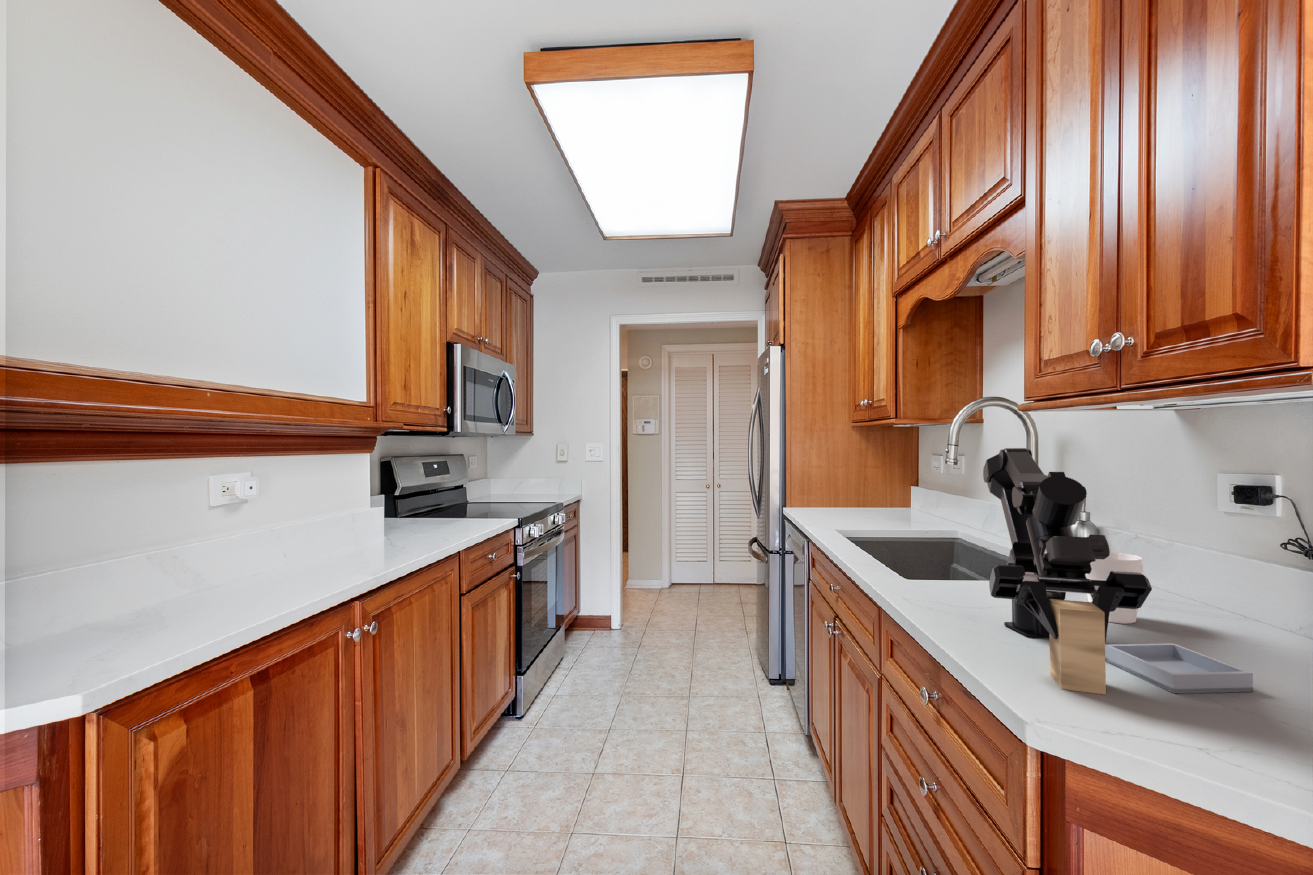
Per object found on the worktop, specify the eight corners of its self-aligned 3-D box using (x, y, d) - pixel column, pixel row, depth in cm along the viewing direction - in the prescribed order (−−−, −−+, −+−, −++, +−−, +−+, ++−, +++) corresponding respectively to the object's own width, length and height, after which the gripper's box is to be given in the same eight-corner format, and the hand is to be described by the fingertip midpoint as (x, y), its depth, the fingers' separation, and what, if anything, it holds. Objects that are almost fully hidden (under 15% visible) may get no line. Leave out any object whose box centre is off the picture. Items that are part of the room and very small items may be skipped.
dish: (1104, 660, 85) (1104, 644, 85) (1173, 659, 85) (1173, 643, 85) (1173, 693, 74) (1173, 674, 74) (1253, 691, 74) (1252, 673, 74)
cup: (1083, 608, 111) (1082, 548, 111) (1143, 616, 105) (1142, 554, 105) (1082, 619, 104) (1081, 556, 104) (1145, 629, 98) (1144, 562, 98)
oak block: (1050, 674, 80) (1048, 598, 80) (1091, 679, 78) (1090, 602, 78) (1061, 688, 75) (1059, 608, 76) (1105, 694, 74) (1104, 612, 74)
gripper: (991, 511, 84) (1009, 603, 74) (1144, 516, 77) (1188, 618, 67) (982, 552, 91) (998, 641, 81) (1121, 560, 85) (1157, 659, 74)
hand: (1079, 639), depth 76 cm, fingers closed on oak block, 5 cm apart
